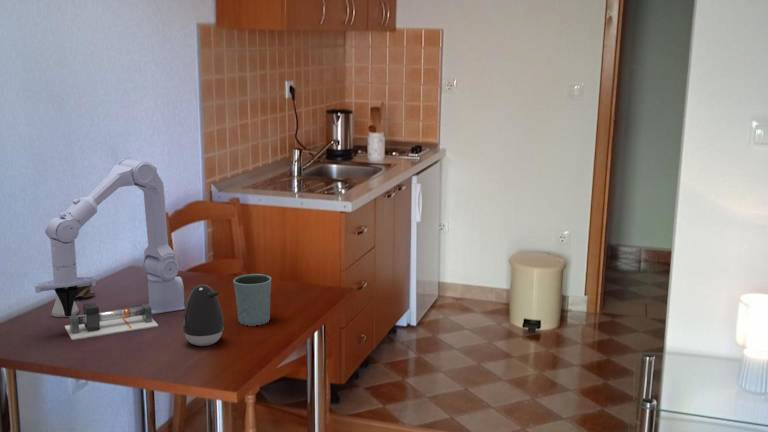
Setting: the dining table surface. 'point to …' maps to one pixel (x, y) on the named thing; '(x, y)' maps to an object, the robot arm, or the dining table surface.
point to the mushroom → (85, 291)
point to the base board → (112, 327)
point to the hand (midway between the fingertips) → (67, 315)
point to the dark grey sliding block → (91, 316)
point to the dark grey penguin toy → (203, 317)
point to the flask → (59, 310)
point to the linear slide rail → (112, 316)
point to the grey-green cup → (253, 298)
